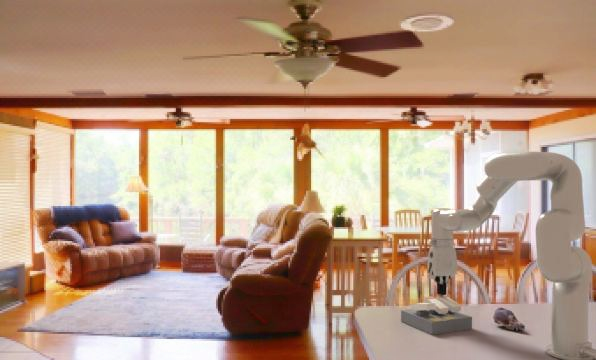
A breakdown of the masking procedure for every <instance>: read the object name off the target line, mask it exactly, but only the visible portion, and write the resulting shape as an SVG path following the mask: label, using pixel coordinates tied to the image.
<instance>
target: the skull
mask: <svg viewBox="0 0 596 360" xmlns="http://www.w3.org/2000/svg"><path fill="white" fill-rule="evenodd" d="M492 316H493V317H492V318H493V322H494V323H495V324H497V325H502V326H503V327H504V328H506V329H507V330H510V331H511V330H513V331H515V329H516V332H518V331H523V332H524V331H525V328H526V326H525V324H523V323H522V322H520V321H519V319H518V318H517V317H516V315H515V313H514V312H513V311H512V310H510V309H507V308H504V307H497V309H495V310H494V315H492Z"/></svg>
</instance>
